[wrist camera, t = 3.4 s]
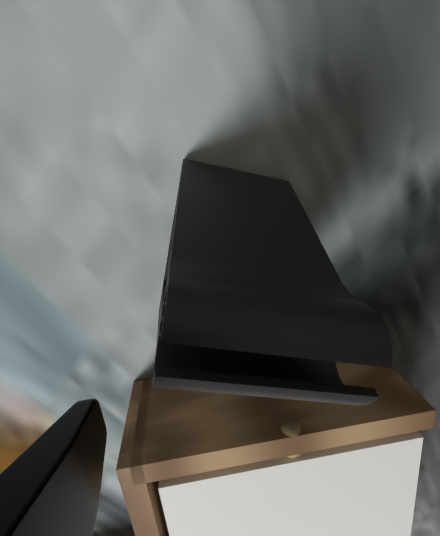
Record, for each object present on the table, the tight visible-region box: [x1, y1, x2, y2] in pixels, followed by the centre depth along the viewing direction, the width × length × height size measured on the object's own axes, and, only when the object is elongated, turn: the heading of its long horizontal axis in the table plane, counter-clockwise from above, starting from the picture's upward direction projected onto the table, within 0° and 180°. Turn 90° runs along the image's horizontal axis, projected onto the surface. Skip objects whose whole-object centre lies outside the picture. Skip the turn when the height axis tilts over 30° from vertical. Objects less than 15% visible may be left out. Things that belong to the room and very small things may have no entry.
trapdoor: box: [158, 431, 423, 536], centre depth 20 cm, size 14×14×3 cm
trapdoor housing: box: [116, 362, 436, 536], centre depth 22 cm, size 16×18×6 cm
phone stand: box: [152, 159, 392, 405], centre depth 14 cm, size 9×6×12 cm, turn 168°
